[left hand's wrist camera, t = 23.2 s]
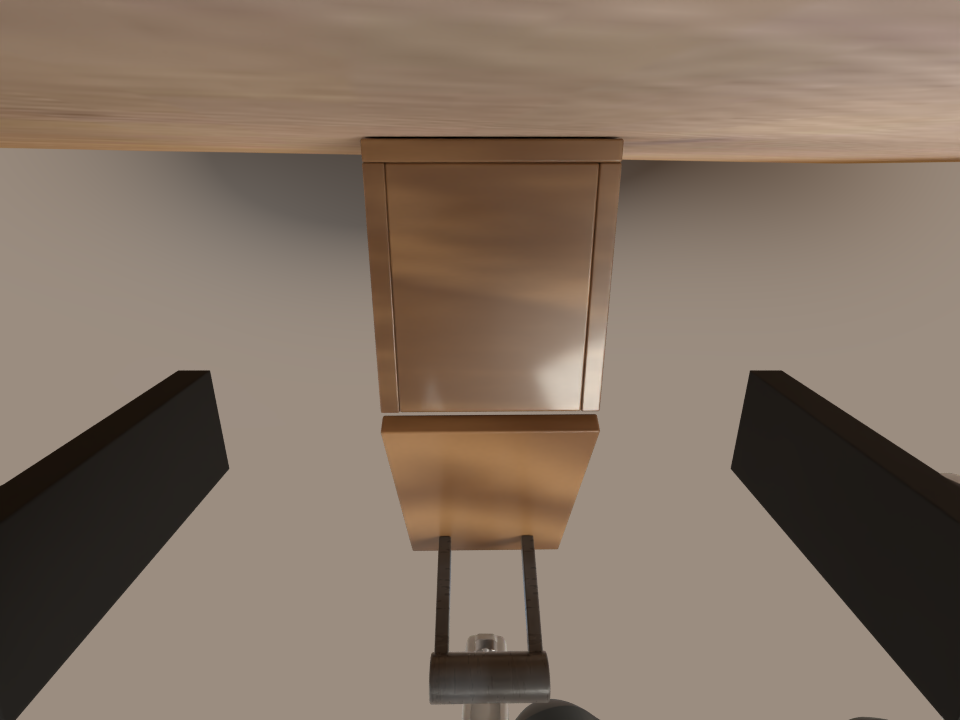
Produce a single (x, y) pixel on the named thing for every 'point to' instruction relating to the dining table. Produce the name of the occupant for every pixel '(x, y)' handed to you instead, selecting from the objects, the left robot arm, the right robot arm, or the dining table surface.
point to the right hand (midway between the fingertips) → (485, 699)
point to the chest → (491, 271)
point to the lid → (488, 524)
